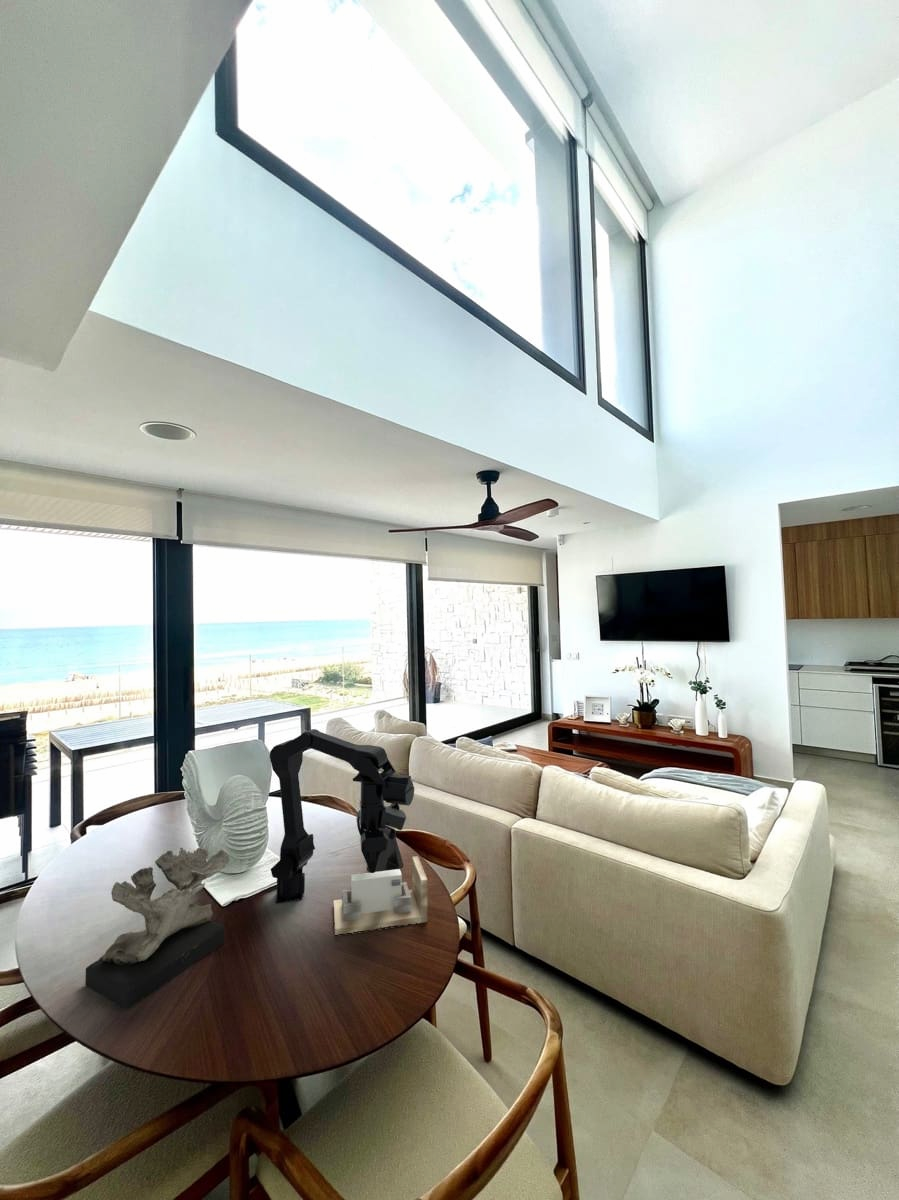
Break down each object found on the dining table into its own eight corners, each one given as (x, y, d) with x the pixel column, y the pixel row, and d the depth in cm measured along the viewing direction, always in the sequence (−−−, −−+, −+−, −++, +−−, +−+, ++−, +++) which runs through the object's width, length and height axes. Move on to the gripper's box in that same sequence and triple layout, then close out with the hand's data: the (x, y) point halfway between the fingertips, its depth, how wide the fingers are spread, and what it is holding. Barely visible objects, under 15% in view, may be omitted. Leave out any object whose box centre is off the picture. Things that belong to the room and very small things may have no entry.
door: (351, 917, 119) (352, 882, 119) (350, 908, 122) (351, 874, 123) (402, 910, 122) (402, 876, 122) (399, 901, 125) (399, 868, 126)
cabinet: (335, 936, 114) (335, 891, 114) (333, 906, 125) (334, 866, 126) (427, 922, 119) (427, 879, 120) (417, 894, 131) (417, 856, 131)
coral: (198, 917, 121) (200, 827, 121) (257, 944, 111) (259, 846, 112) (82, 984, 99) (86, 874, 99) (144, 1024, 89) (147, 901, 90)
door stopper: (379, 878, 139) (379, 834, 140) (366, 870, 144) (366, 828, 144) (403, 866, 146) (404, 824, 146) (390, 859, 150) (390, 819, 150)
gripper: (410, 811, 117) (408, 879, 117) (398, 785, 135) (397, 843, 135) (362, 815, 115) (360, 884, 114) (357, 788, 133) (355, 847, 132)
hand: (370, 863), depth 124 cm, fingers open, 9 cm apart
